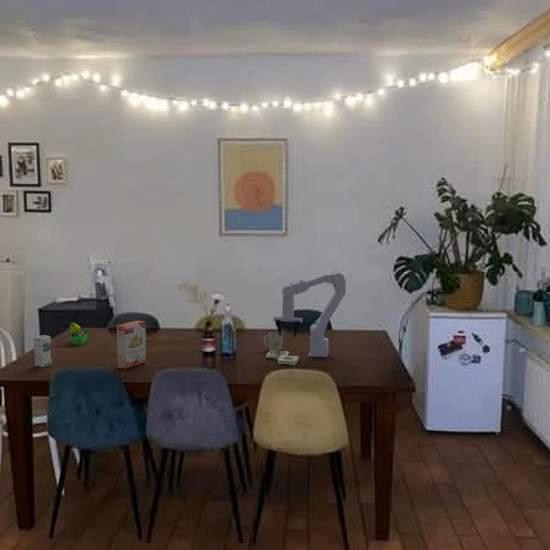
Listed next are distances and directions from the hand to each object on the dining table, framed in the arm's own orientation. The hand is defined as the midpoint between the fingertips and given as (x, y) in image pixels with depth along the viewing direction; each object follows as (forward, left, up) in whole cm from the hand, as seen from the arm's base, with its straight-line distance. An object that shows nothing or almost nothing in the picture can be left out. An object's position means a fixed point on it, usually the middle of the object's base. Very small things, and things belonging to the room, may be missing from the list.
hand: (287, 335), depth 346 cm
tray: (+5, +3, -10) cm, 12 cm away
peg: (+5, +3, -10) cm, 11 cm away
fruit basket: (+118, -7, -11) cm, 118 cm away
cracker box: (+71, +31, -11) cm, 78 cm away
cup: (+10, -10, -11) cm, 18 cm away
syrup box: (+113, +39, -11) cm, 120 cm away
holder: (-2, +12, -10) cm, 16 cm away
